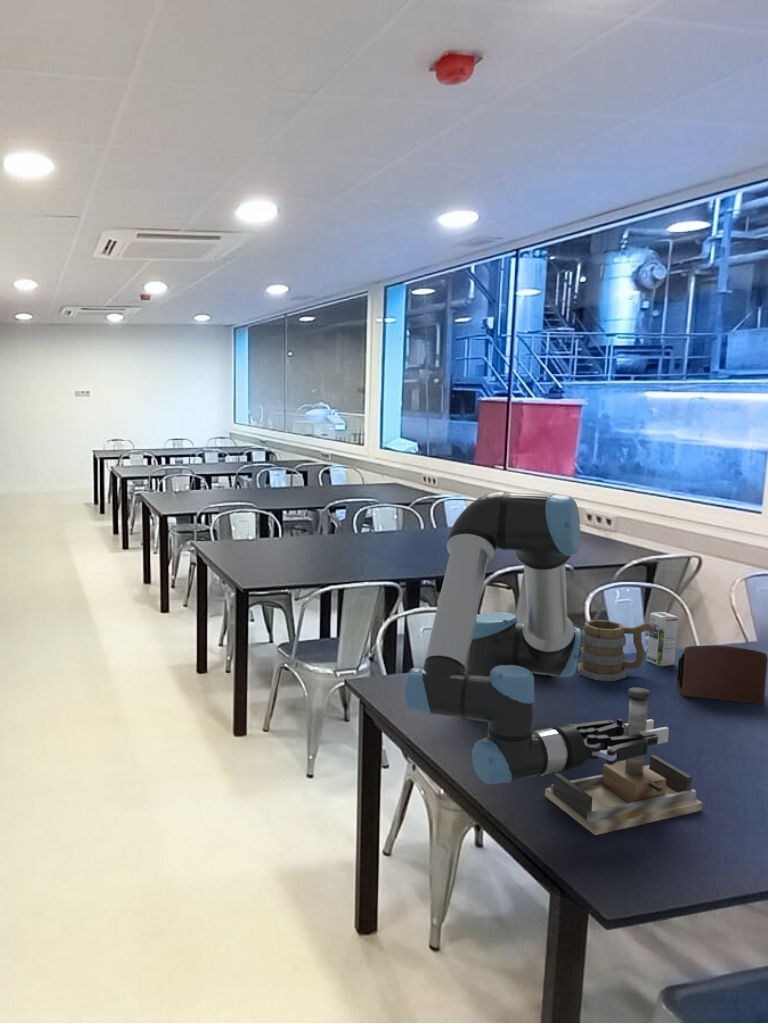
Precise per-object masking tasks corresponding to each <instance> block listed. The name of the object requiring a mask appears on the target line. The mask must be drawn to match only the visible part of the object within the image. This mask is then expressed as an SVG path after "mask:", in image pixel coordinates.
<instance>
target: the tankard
mask: <svg viewBox="0 0 768 1024" xmlns="http://www.w3.org/2000/svg"><path fill="white" fill-rule="evenodd" d="M654 630H655V627H653V626H652V625H650V623H648V622H644V623H641V624H639V625H637V626H633V627H631V626H630V627H629V626H628V627H627V626H624V625H623V624H622V623H620V622H615V621H611V620H605V619H603V620H602V619H592V620H588V621H584V626H583V629H582V630H581V641H582V646H580V651H579V653H580V656H581V660H582V662H577V666H576V669H577V668H578V669H577V673H578V672H579V673H578V675H579V674H581V675H583V676H582V677H584V676H586V677H589V678H591V679H590V680H592V679H594V680H593V681H596V680H602V681H601V682H612V681H614V682H617V680H618V681H620V679H621V680H624V679H626V678H627V675H628V674H627V671H626V669H629V670H630V669H640V667H641V666H642V665H643V663H644V661H645V655H646V651H645V648H644V646H643V638H642V633H644V632H646V631H648V633H649V632H651V633H653V632H654ZM625 634H627V635H632V637H633V645H634V647H635V651H636V656H635V659H634V660H626V654H625V652H624V646H626V643H627V636H626V635H625ZM581 675H580V676H581ZM586 677H585V678H586ZM589 678H588V679H589ZM623 678H624V679H623Z"/></svg>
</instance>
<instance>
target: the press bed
mask: <svg viewBox="0 0 768 1024" xmlns="http://www.w3.org/2000/svg"><path fill="white" fill-rule="evenodd" d="M644 766H645V767H647V768H649V769H650V770H652V771H654V772H655V773H657V774H659V775H660V776H662V777H664V778H665V779H666V785H665V795H664V796H660V797H655V798H651V799H646V800H641V801H637V802H632V803H629V802H627V801H626V800H624V799H623V798H621V797H620V796H618V795H617V794H615V793H614V792H613V791H611V790H610V789H608V788H607V787H605V786H604V785H602V779H603V773H601V774H598V775H593V776H592V775H591V776H588V777H582V778H578V779H577V778H576V779H573V780H569V779H568V778H566V777H565V776H564V775H562V774H561V773H559V772H556V773H553V784H550V787H546V788H545V789H544V796H545V797H546V798H547V799H548V800H550V801H551V802H552V803H553V804H554V805H556V806H558V807H559V808H560V809H561V810H562V811H564V813H566V814H568V815H569V816H570V817H571V818H572V819H574V820H575V821H576V822H577V823H579V824H580V825H582V826H583V827H584V828H585V829H586V830H588V831H589V832H590V833H592V834H593V836H594V835H595V836H597V835H604V834H606V833H611V832H615V831H619V830H623V829H629V828H633V827H637V826H641V825H645V824H649V823H654V822H658V821H662V820H663V821H664V820H666V819H671V818H675V817H680V816H685V815H689V814H692V813H696V812H700V811H701V812H702V810H703V801H701V800H699V799H697V790H695V789H694V788H693V789H692V781H693V780H692V776H691V775H690V774H688V773H686V772H684V770H681V769H679V768H678V767H676V766H674V765H672V764H671V763H669V762H667V761H666V760H664V759H662V758H661V757H660V756H657V755H656V754H651V755H650V756H649V763H648V765H644Z"/></svg>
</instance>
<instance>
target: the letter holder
mask: <svg viewBox="0 0 768 1024" xmlns="http://www.w3.org/2000/svg"><path fill="white" fill-rule="evenodd" d="M767 672H768V655H767V654H766V653H765V652H761V651H760V650H759V651H758V650H754V649H749V648H741V647H736V646H735V647H734V646H727V645H691V646H687V647H685V648H684V650H683V653H682V654H681V656H680V657H679V658H678V664H677V675H676V676H677V678H676V684H677V688H678V690H679V693H680V696H681V697H687V698H694V699H695V698H696V699H697V698H698V699H708V700H717V701H718V700H719V701H727V702H734V703H735V702H736V703H747V704H748V703H749V704H757V705H764V704H765V699H766V698H765V696H766V695H765V694H766V685H767V683H766V682H767Z"/></svg>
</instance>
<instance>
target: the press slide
mask: <svg viewBox="0 0 768 1024" xmlns="http://www.w3.org/2000/svg"><path fill="white" fill-rule="evenodd" d="M627 697H628V698H629V705H628V707H629V708H628V721H627V723H628V734H627V736H628V735H638V732H640V731H646V722H647V720H648V706H649V701H650V699H651V691H650V690H649V689H646V688H644V687H643V688H642V687H630V688H629V689H628V694H627ZM602 766H603V767H602V774H603V779H602V785H604V786H605V787H607V788H608V789H610V790H611V791H613V792H614V793H615V794H617V795H618V796H620V797H621V798H623V799H624V800H626V801H627V802H629V803H632V802H637V801H641V800H646V799H651V798H655V797H660V796H664V795H665V785H666V779H665V778H664V777H662V776H660V775H659V774H657V773H655V772H654V771H652V770H650V769H649V768H647V767H645V766H646V765H645V755H641V756H637V757H633V758H629V759H625V760H621V761H618V762H616V763H615V764H613V765H608V764H607V763H603V764H602Z"/></svg>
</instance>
